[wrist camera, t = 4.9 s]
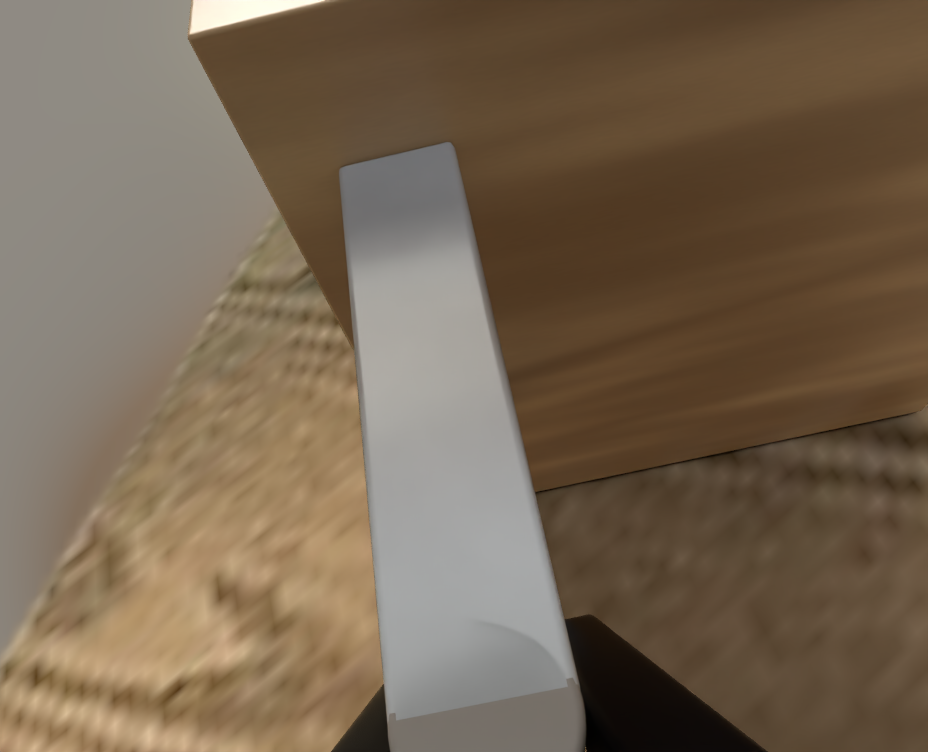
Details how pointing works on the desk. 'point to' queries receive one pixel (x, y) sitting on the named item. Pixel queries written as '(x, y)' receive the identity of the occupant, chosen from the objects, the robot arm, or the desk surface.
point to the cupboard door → (578, 276)
